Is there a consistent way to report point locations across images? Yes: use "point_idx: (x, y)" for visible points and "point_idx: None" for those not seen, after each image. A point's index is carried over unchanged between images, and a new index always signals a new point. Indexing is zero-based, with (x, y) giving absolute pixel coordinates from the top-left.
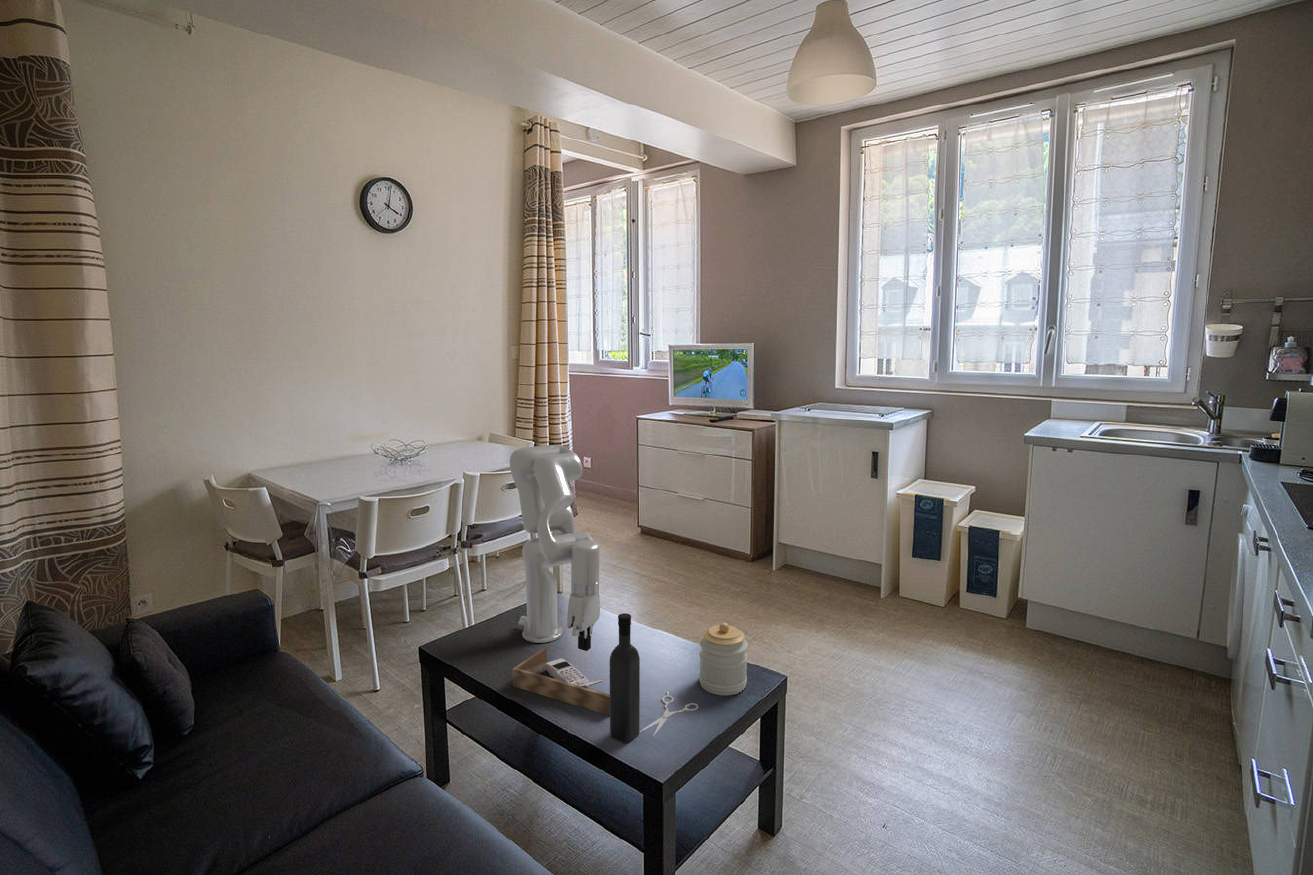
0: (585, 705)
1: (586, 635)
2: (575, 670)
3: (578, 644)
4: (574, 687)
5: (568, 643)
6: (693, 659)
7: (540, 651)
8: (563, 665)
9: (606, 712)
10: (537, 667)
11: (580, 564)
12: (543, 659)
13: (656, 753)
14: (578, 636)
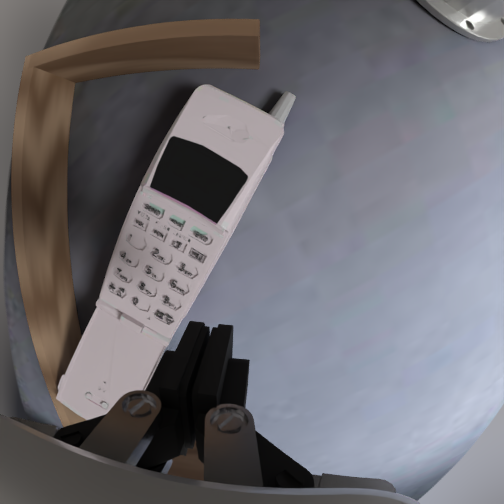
0: None
1: (164, 460)
2: (199, 261)
3: (183, 339)
4: (39, 360)
5: (456, 81)
6: (426, 464)
7: (208, 29)
8: (197, 191)
9: None
10: (184, 63)
11: None
12: (231, 55)
13: None
14: (138, 398)
